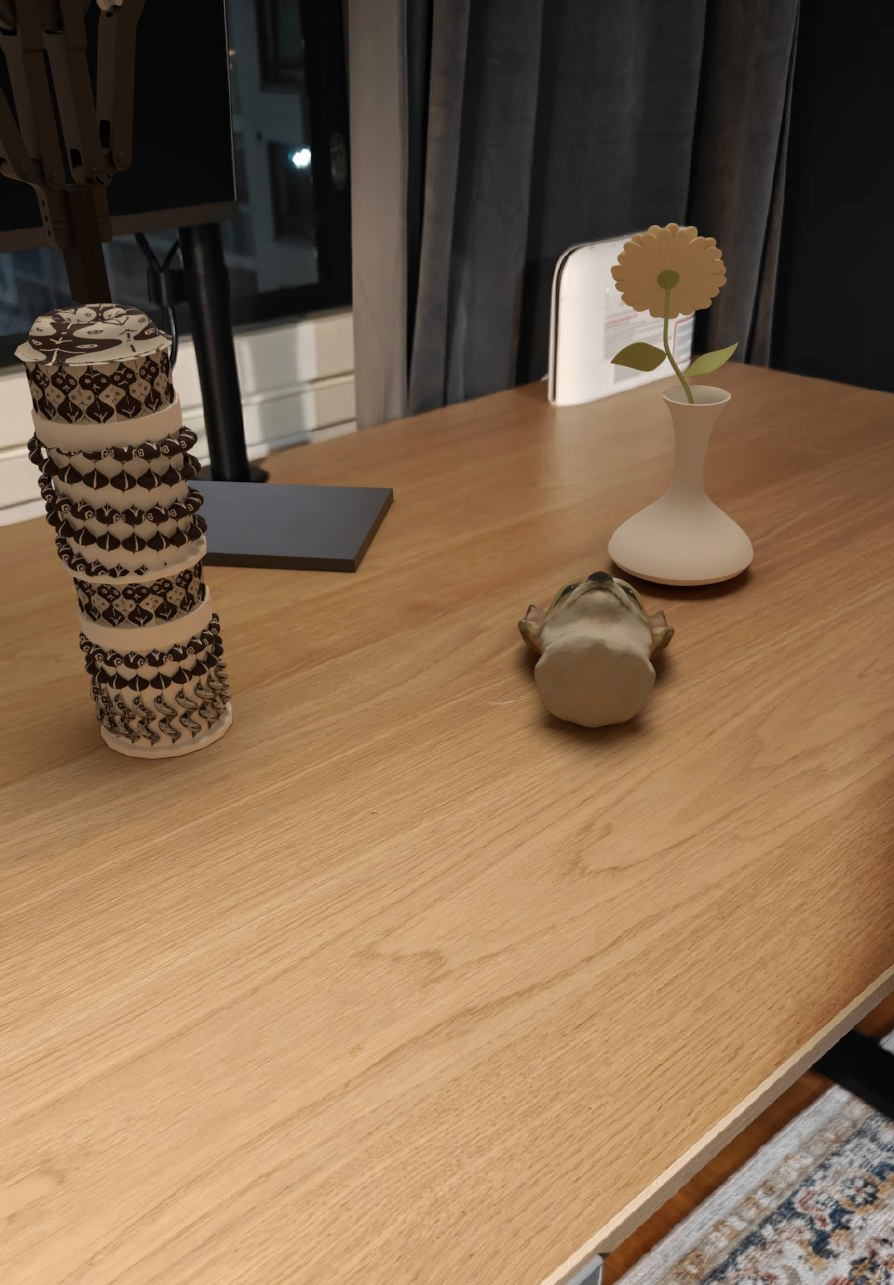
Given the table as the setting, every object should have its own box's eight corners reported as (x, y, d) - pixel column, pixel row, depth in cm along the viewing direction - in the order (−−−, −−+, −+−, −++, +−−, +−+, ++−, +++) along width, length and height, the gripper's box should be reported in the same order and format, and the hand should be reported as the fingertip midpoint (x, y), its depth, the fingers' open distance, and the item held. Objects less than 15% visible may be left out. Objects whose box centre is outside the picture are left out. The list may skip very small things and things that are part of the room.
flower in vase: (769, 557, 92) (822, 218, 78) (721, 612, 85) (770, 246, 70) (622, 528, 98) (645, 206, 84) (564, 577, 90) (578, 231, 76)
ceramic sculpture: (507, 612, 66) (523, 527, 78) (503, 742, 70) (520, 642, 83) (693, 620, 64) (680, 532, 77) (677, 752, 69) (667, 649, 82)
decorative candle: (105, 776, 68) (2, 345, 54) (86, 703, 76) (-9, 305, 61) (253, 743, 71) (193, 324, 57) (222, 676, 78) (161, 288, 64)
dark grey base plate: (90, 560, 95) (82, 526, 93) (159, 491, 108) (153, 460, 106) (355, 573, 92) (352, 538, 90) (393, 500, 104) (392, 468, 103)
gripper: (-105, -203, 53) (16, 330, 66) (148, -186, 59) (211, 295, 73) (-153, -185, 57) (-31, 309, 71) (86, -171, 64) (156, 278, 78)
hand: (92, 301), depth 72 cm, fingers closed
